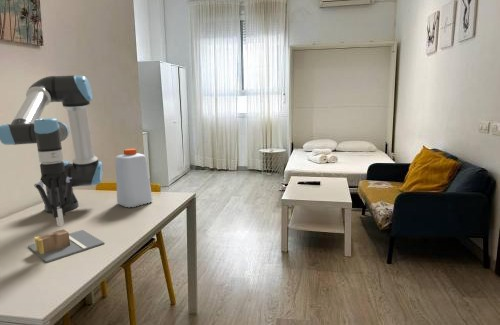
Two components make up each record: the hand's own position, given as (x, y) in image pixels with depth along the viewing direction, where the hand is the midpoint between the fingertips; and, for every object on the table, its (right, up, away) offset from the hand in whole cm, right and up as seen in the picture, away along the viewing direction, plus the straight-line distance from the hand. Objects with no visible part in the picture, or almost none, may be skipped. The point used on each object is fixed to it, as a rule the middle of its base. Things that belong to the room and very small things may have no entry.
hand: (60, 224), depth 133 cm
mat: (+1, -8, +2) cm, 8 cm away
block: (+1, -5, +2) cm, 6 cm away
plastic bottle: (+11, +2, +53) cm, 54 cm away
